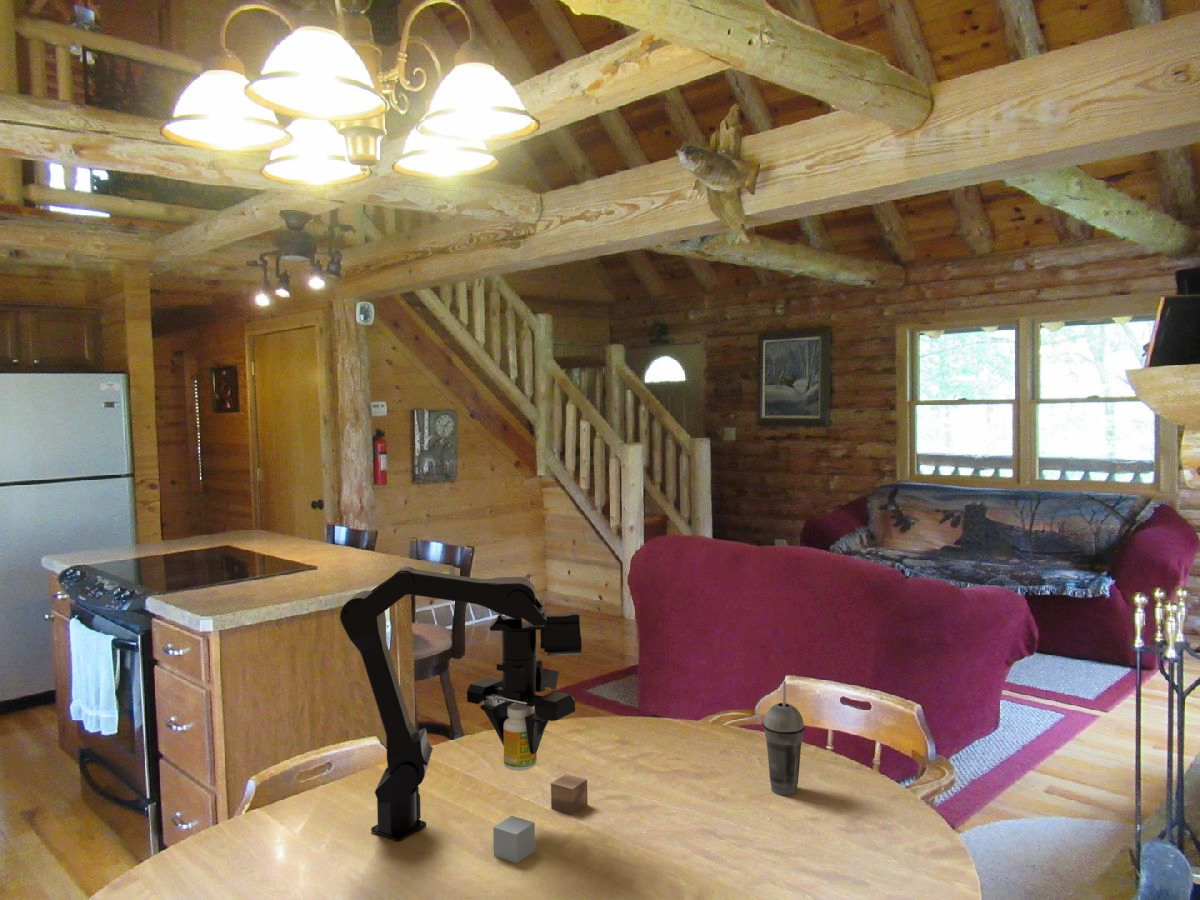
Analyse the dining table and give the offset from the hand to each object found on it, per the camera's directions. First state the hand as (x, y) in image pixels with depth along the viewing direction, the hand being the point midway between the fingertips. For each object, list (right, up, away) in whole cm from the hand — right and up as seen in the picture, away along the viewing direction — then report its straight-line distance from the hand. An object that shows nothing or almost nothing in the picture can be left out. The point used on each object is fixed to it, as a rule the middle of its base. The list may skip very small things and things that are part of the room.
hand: (520, 749), depth 141 cm
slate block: (0, -13, -9) cm, 16 cm away
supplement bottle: (0, -3, 0) cm, 3 cm away
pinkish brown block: (+8, -12, +7) cm, 16 cm away
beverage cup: (+46, -12, +12) cm, 49 cm away
